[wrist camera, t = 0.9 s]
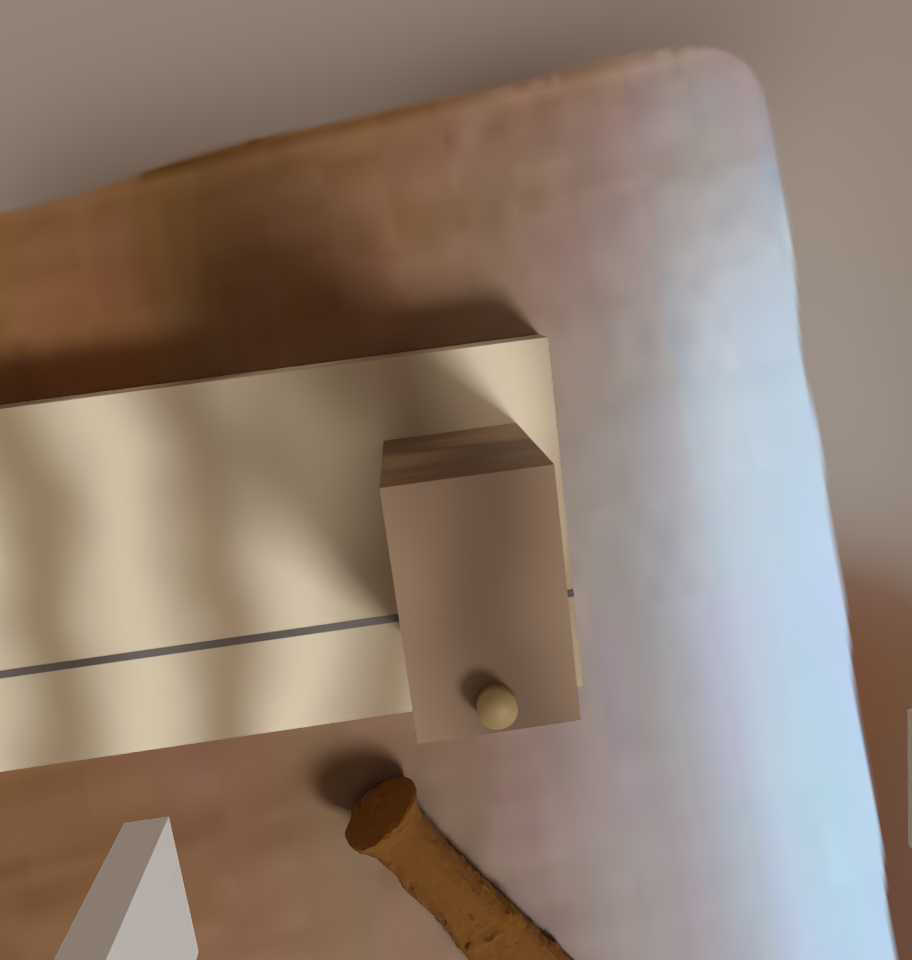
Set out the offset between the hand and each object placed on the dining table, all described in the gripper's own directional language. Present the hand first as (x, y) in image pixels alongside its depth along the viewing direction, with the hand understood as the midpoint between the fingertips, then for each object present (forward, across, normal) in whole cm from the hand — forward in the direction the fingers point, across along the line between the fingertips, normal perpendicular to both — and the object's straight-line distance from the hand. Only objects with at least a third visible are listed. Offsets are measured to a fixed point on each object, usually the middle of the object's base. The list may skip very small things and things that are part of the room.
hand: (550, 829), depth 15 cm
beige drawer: (+18, 0, 0) cm, 19 cm away
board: (+20, -10, 0) cm, 23 cm away
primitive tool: (+21, 0, -20) cm, 29 cm away
